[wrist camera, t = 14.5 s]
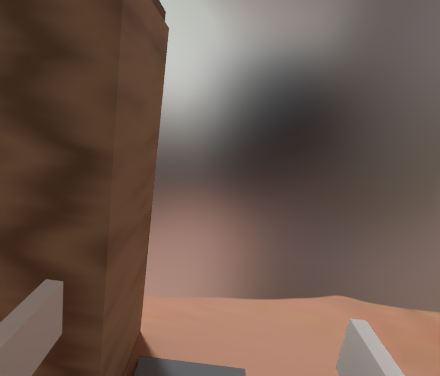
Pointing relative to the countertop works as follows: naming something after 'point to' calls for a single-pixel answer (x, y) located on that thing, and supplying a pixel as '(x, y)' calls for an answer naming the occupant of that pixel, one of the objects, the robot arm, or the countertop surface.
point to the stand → (80, 167)
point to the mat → (182, 368)
